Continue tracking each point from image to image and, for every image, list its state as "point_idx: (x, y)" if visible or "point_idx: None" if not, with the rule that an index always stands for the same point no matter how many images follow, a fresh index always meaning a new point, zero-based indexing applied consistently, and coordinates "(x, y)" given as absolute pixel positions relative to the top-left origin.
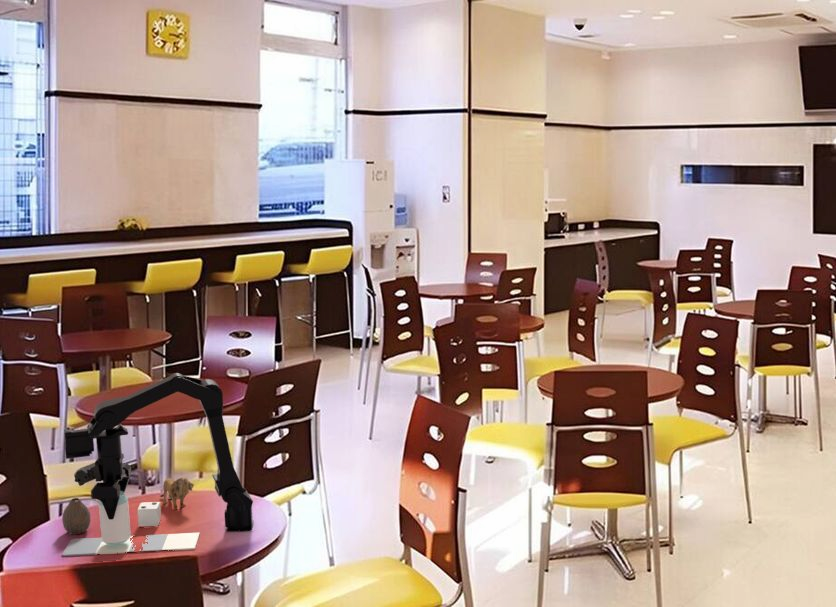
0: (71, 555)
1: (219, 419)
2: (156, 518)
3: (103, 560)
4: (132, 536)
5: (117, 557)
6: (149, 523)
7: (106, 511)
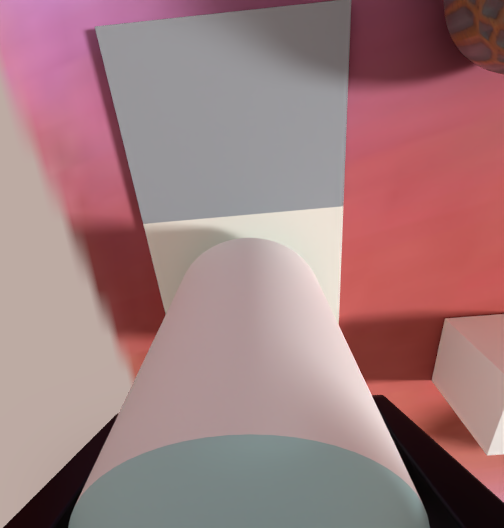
0: (113, 94)
1: None
2: (453, 406)
3: (91, 274)
4: None
5: (130, 317)
6: (446, 366)
7: (42, 495)
